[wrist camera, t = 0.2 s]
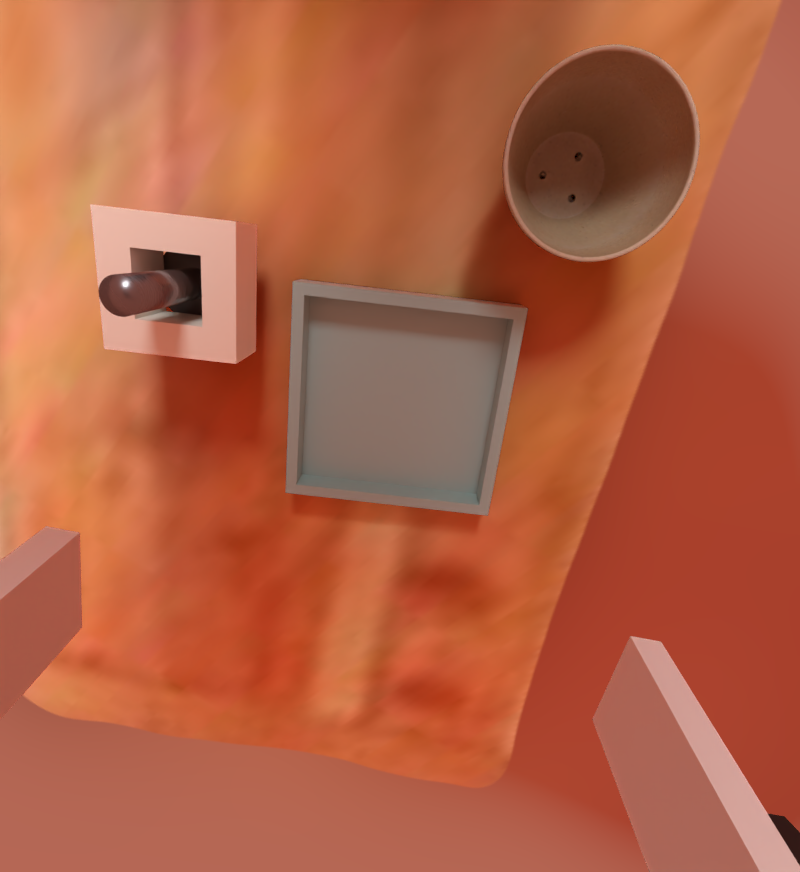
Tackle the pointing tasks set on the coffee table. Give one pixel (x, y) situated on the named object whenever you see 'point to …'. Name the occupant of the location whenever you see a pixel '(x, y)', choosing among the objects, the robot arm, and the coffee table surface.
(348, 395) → the tray
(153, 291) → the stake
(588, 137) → the flower pot
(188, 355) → the ring
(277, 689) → the coffee table surface
